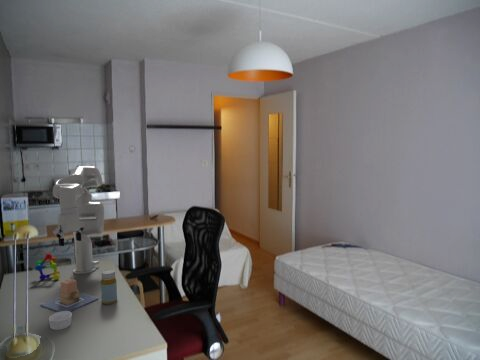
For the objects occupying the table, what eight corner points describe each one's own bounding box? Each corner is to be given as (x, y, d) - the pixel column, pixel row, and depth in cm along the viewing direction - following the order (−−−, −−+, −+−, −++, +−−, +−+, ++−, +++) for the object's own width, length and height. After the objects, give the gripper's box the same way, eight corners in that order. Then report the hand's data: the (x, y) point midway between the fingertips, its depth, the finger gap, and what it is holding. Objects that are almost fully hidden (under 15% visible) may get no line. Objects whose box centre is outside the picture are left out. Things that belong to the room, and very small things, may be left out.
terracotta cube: (70, 288, 176) (70, 278, 175) (76, 290, 173) (76, 280, 173) (61, 292, 172) (60, 281, 171) (67, 294, 169) (66, 283, 168)
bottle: (112, 305, 169) (110, 274, 168) (98, 304, 171) (97, 273, 169) (119, 299, 176) (118, 269, 175) (106, 298, 178) (105, 268, 176)
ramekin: (75, 325, 151) (75, 315, 150) (53, 333, 144) (52, 323, 144) (67, 318, 157) (67, 309, 156) (46, 325, 150) (45, 315, 150)
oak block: (71, 297, 177) (71, 288, 176) (79, 300, 174) (78, 290, 173) (60, 302, 172) (59, 292, 171) (67, 305, 169) (67, 294, 168)
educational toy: (33, 280, 206) (31, 254, 205) (58, 275, 213) (56, 250, 213) (38, 285, 193) (36, 257, 193) (64, 280, 201) (62, 253, 201)
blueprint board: (74, 292, 185) (74, 290, 185) (97, 299, 176) (97, 297, 176) (40, 305, 169) (40, 304, 169) (64, 314, 161) (64, 312, 160)
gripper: (78, 206, 191) (80, 237, 194) (47, 212, 176) (50, 246, 179) (88, 208, 188) (89, 239, 190) (57, 214, 173) (59, 248, 175)
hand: (70, 243), depth 184 cm, fingers open, 9 cm apart
